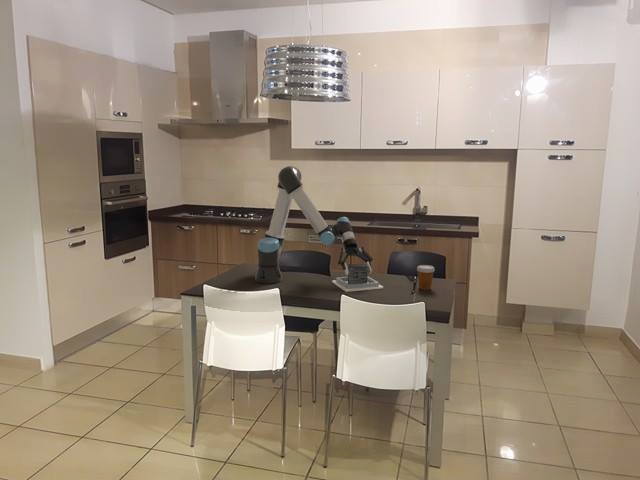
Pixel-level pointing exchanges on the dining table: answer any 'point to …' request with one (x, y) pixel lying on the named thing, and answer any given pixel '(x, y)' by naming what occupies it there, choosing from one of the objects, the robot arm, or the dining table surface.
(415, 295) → the dining table surface
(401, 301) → the dining table surface
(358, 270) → the small box
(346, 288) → the tray
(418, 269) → the pill bottle
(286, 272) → the dining table surface
